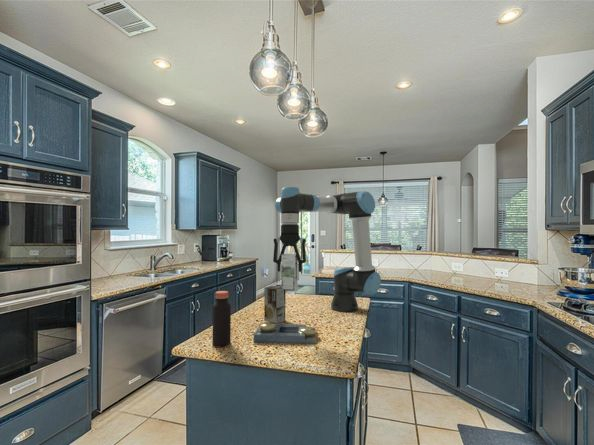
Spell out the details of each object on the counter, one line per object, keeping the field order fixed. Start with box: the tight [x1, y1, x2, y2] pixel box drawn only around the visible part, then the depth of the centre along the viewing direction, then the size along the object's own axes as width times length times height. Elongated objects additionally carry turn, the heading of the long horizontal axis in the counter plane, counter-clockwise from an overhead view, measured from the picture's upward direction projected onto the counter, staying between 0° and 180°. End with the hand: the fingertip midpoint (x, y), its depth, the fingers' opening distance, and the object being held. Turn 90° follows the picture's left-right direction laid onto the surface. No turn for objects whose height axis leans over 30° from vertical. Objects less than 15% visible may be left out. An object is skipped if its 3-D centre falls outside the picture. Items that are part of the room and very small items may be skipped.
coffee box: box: [263, 285, 286, 324], centre depth 154 cm, size 9×6×16 cm
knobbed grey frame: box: [253, 321, 307, 344], centre depth 130 cm, size 20×15×5 cm
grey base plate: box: [268, 325, 317, 345], centre depth 129 cm, size 18×15×4 cm
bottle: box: [212, 290, 232, 348], centre depth 121 cm, size 7×7×20 cm
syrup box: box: [281, 253, 299, 291], centre depth 131 cm, size 6×6×14 cm
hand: (289, 279), depth 131 cm, fingers closed on syrup box, 6 cm apart
